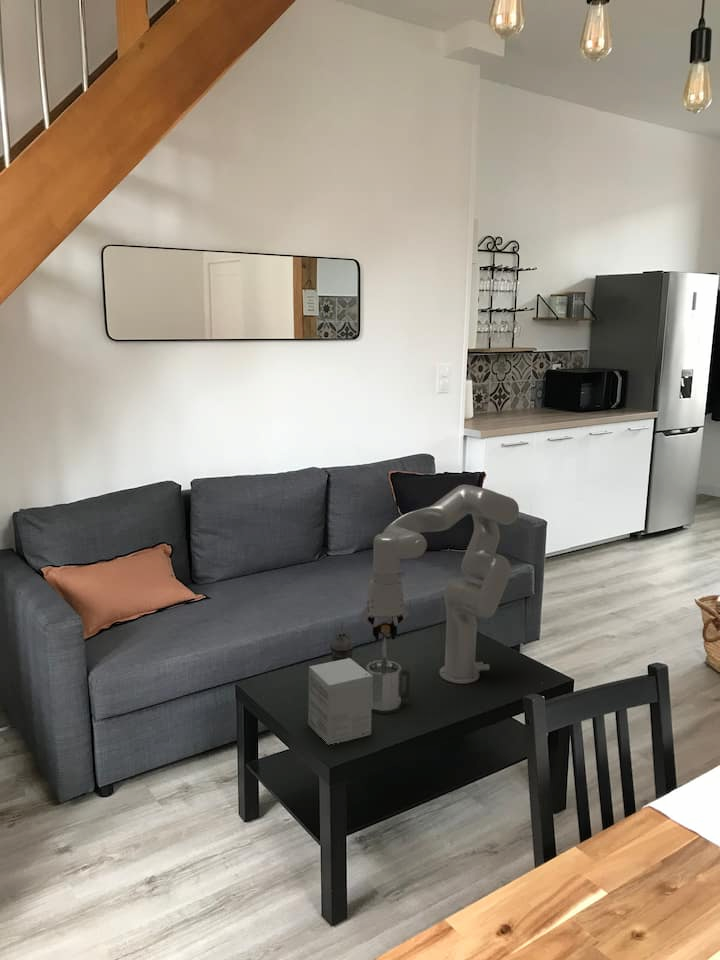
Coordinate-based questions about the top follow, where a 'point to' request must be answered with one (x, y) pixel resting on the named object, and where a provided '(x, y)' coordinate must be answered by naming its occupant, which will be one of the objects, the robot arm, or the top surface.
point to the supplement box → (340, 701)
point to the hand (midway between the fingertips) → (384, 637)
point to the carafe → (388, 687)
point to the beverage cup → (341, 646)
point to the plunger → (384, 648)
